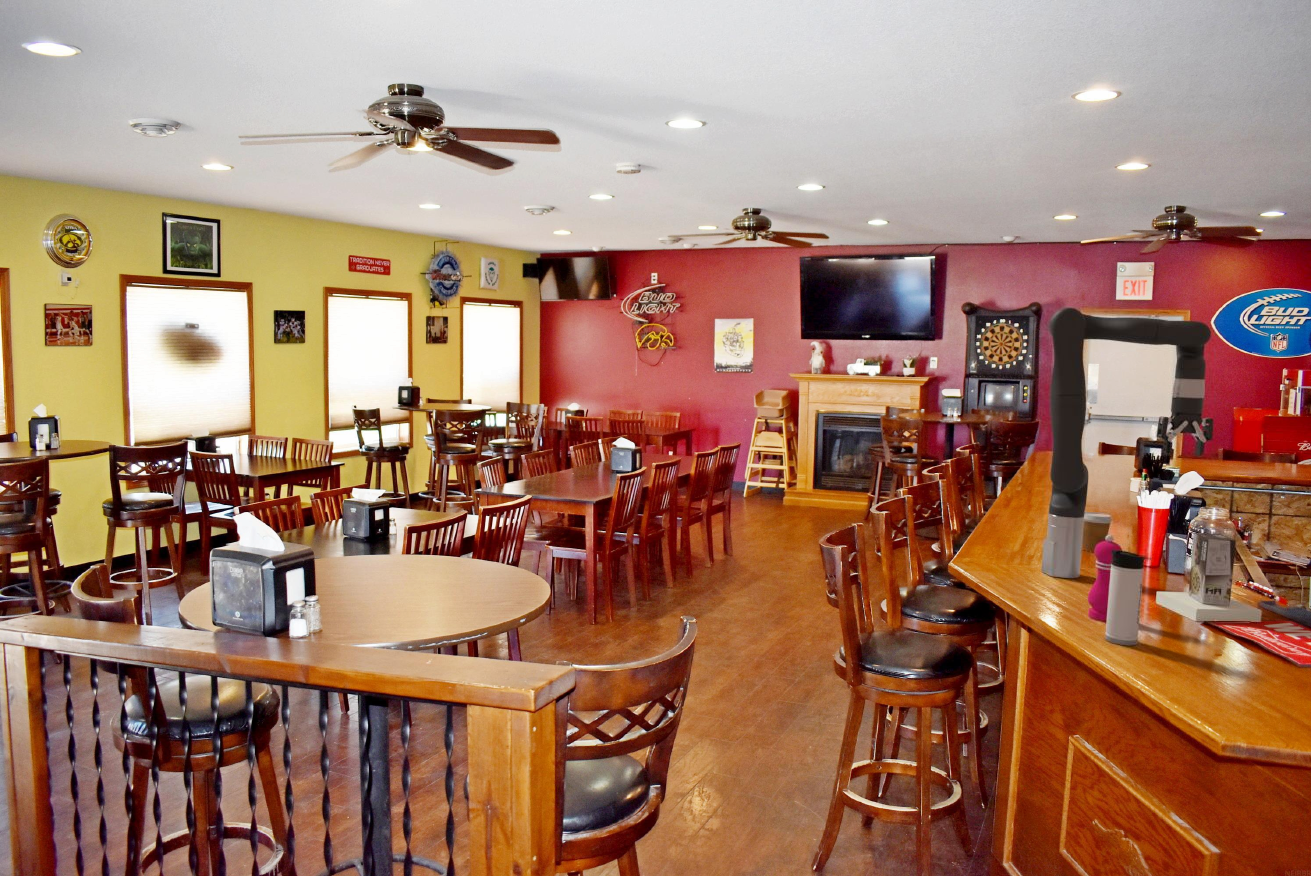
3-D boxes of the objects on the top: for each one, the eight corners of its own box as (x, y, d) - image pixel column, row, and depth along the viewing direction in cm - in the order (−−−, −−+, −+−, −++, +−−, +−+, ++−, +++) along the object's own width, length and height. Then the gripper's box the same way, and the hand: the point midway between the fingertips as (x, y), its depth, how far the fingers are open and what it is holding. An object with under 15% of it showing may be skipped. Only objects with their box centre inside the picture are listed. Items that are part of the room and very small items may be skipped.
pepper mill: (1118, 624, 214) (1125, 539, 212) (1084, 618, 218) (1090, 535, 216) (1121, 617, 220) (1128, 534, 218) (1088, 612, 224) (1094, 530, 222)
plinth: (1195, 621, 219) (1196, 608, 219) (1155, 602, 235) (1156, 591, 235) (1260, 622, 220) (1261, 610, 219) (1216, 604, 236) (1217, 592, 235)
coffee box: (1231, 606, 222) (1237, 540, 221) (1202, 604, 223) (1208, 538, 222) (1214, 596, 231) (1220, 533, 230) (1187, 594, 232) (1192, 531, 231)
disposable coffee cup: (1111, 550, 301) (1114, 514, 300) (1107, 555, 293) (1110, 518, 292) (1079, 546, 306) (1082, 510, 305) (1075, 551, 298) (1077, 514, 297)
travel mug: (1097, 636, 203) (1104, 547, 201) (1126, 637, 204) (1133, 547, 202) (1114, 645, 197) (1121, 553, 195) (1143, 646, 198) (1151, 554, 196)
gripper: (1204, 396, 254) (1199, 454, 255) (1154, 394, 253) (1149, 453, 255) (1222, 397, 246) (1217, 457, 248) (1171, 395, 246) (1165, 456, 247)
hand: (1182, 455), depth 251 cm, fingers open, 8 cm apart
